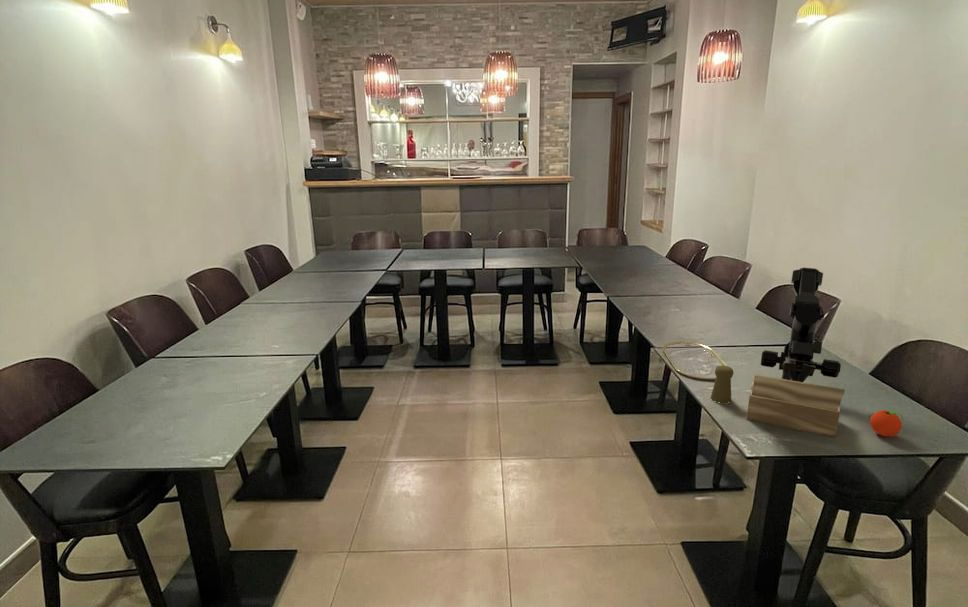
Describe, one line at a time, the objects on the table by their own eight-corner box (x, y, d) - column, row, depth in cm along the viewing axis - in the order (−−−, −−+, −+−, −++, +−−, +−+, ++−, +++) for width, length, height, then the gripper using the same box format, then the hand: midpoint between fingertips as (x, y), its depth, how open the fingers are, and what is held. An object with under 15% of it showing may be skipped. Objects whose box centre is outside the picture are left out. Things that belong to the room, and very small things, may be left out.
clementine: (889, 427, 150) (894, 404, 148) (909, 440, 144) (915, 417, 142) (861, 428, 150) (866, 405, 148) (880, 441, 143) (885, 417, 141)
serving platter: (704, 345, 214) (705, 341, 214) (737, 382, 181) (738, 378, 180) (657, 345, 216) (657, 341, 215) (681, 381, 182) (681, 377, 182)
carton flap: (754, 374, 146) (754, 375, 146) (844, 389, 136) (844, 391, 136) (752, 393, 154) (752, 395, 154) (837, 409, 144) (837, 411, 144)
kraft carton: (749, 402, 166) (752, 379, 164) (832, 418, 156) (837, 394, 154) (746, 418, 156) (749, 395, 154) (835, 437, 146) (840, 412, 144)
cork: (713, 393, 172) (717, 361, 169) (733, 398, 169) (737, 366, 166) (707, 400, 168) (711, 367, 165) (728, 405, 164) (732, 372, 161)
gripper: (766, 323, 149) (758, 375, 143) (846, 333, 140) (841, 389, 134) (764, 339, 158) (757, 389, 152) (839, 350, 149) (834, 403, 143)
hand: (795, 392), depth 145 cm, fingers closed, pressing on carton flap
